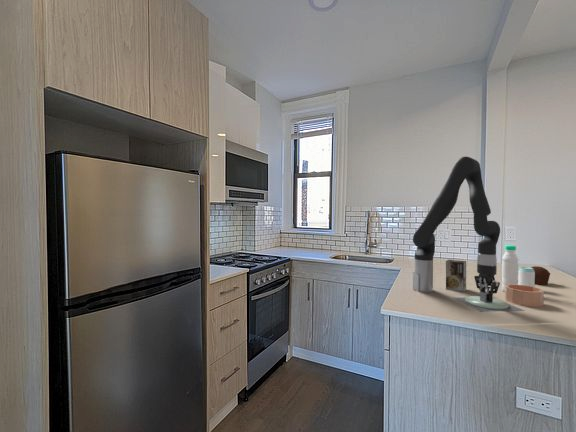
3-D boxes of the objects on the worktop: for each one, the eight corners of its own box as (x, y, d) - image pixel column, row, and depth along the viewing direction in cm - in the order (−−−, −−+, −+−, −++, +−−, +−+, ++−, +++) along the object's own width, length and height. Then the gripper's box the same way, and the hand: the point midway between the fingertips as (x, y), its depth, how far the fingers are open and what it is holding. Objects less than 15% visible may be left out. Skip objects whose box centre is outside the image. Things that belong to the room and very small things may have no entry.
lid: (481, 310, 129) (481, 298, 129) (457, 298, 146) (457, 288, 146) (518, 309, 130) (518, 298, 130) (490, 297, 147) (490, 287, 147)
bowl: (521, 307, 134) (522, 292, 133) (498, 298, 148) (498, 284, 147) (551, 307, 134) (551, 291, 134) (525, 298, 148) (525, 284, 148)
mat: (480, 312, 127) (480, 311, 127) (452, 298, 147) (452, 297, 147) (524, 311, 128) (524, 310, 128) (491, 298, 148) (491, 297, 148)
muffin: (548, 286, 170) (548, 269, 170) (524, 283, 178) (524, 266, 178) (551, 283, 178) (551, 267, 177) (528, 280, 186) (528, 264, 186)
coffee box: (466, 290, 163) (467, 261, 163) (463, 292, 158) (464, 262, 158) (448, 287, 169) (448, 259, 169) (445, 289, 165) (445, 260, 164)
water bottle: (514, 290, 163) (515, 245, 162) (520, 293, 156) (521, 246, 155) (499, 289, 165) (500, 244, 164) (504, 292, 158) (505, 246, 158)
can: (517, 289, 165) (517, 267, 165) (519, 286, 170) (519, 266, 170) (534, 291, 160) (534, 269, 160) (534, 289, 165) (535, 267, 165)
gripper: (468, 261, 144) (468, 295, 145) (490, 266, 130) (489, 305, 131) (483, 260, 145) (483, 295, 145) (506, 266, 131) (505, 305, 131)
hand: (486, 300), depth 138 cm, fingers closed on lid, 3 cm apart
